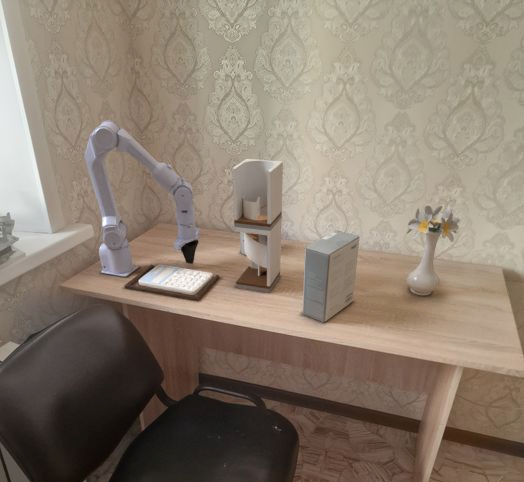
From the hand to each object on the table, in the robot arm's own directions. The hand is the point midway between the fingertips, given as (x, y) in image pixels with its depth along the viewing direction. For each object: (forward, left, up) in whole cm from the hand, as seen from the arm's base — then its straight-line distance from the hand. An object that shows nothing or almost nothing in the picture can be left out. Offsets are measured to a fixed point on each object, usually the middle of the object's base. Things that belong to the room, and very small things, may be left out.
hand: (189, 262), depth 152 cm
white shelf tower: (+25, -2, -2) cm, 25 cm away
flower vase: (+73, +9, -2) cm, 74 cm away
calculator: (+1, -11, -2) cm, 11 cm away
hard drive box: (+49, -11, -2) cm, 50 cm away
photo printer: (+14, +21, -2) cm, 25 cm away
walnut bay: (0, -12, -2) cm, 12 cm away
